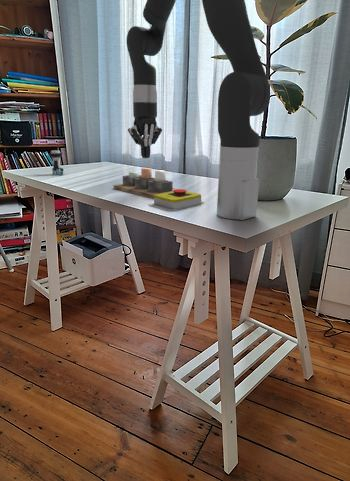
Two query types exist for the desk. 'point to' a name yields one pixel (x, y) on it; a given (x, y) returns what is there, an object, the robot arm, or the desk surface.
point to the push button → (56, 162)
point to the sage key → (133, 174)
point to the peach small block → (146, 173)
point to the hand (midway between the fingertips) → (145, 157)
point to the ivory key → (160, 176)
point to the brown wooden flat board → (144, 186)
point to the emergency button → (176, 200)
